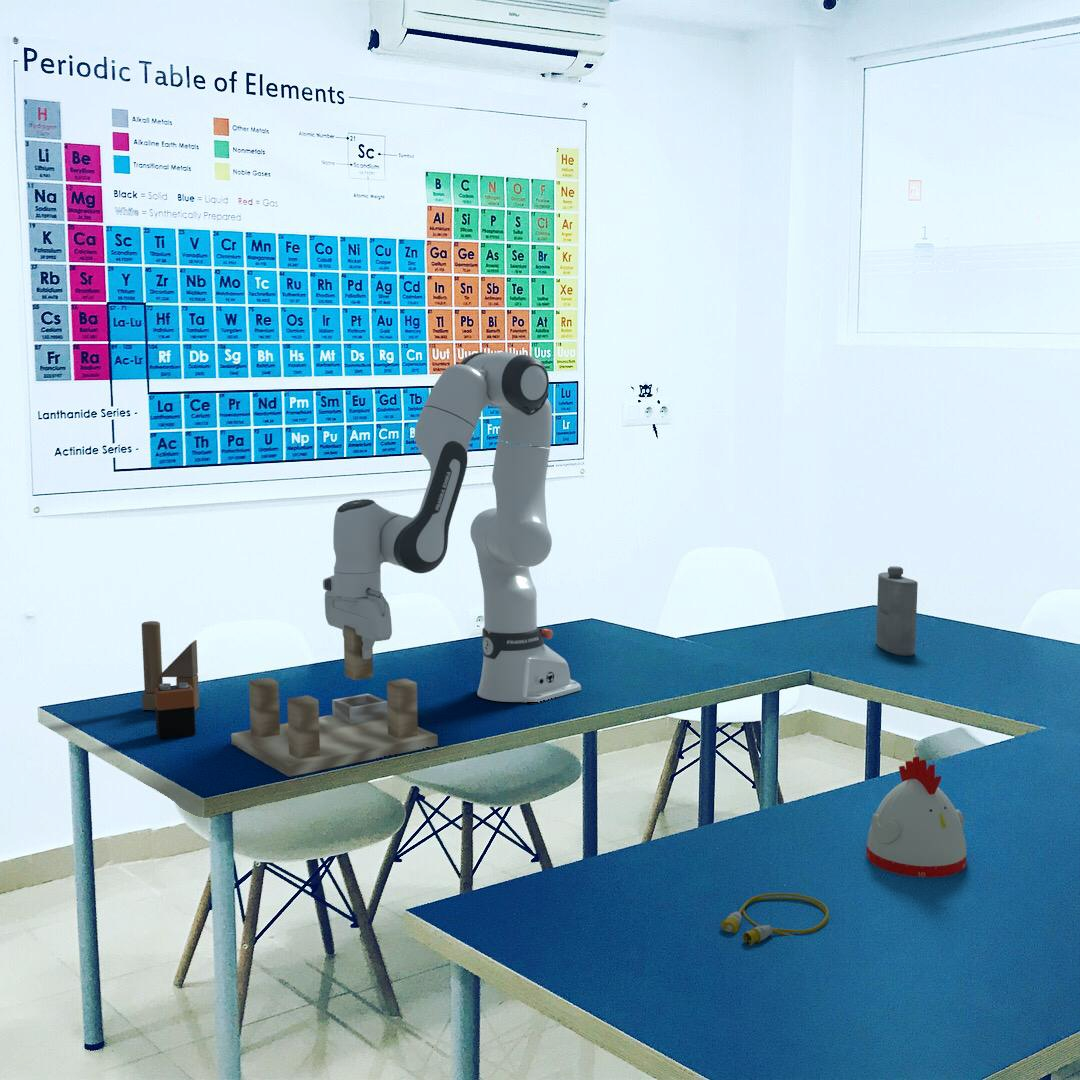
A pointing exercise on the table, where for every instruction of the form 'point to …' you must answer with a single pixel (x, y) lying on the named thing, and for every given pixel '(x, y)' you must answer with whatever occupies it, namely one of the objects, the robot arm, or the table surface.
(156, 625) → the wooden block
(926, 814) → the kitchen timer
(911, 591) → the flask
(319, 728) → the stone peg stand
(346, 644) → the oak leg
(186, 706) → the battery
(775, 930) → the extension cord
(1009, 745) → the table surface
